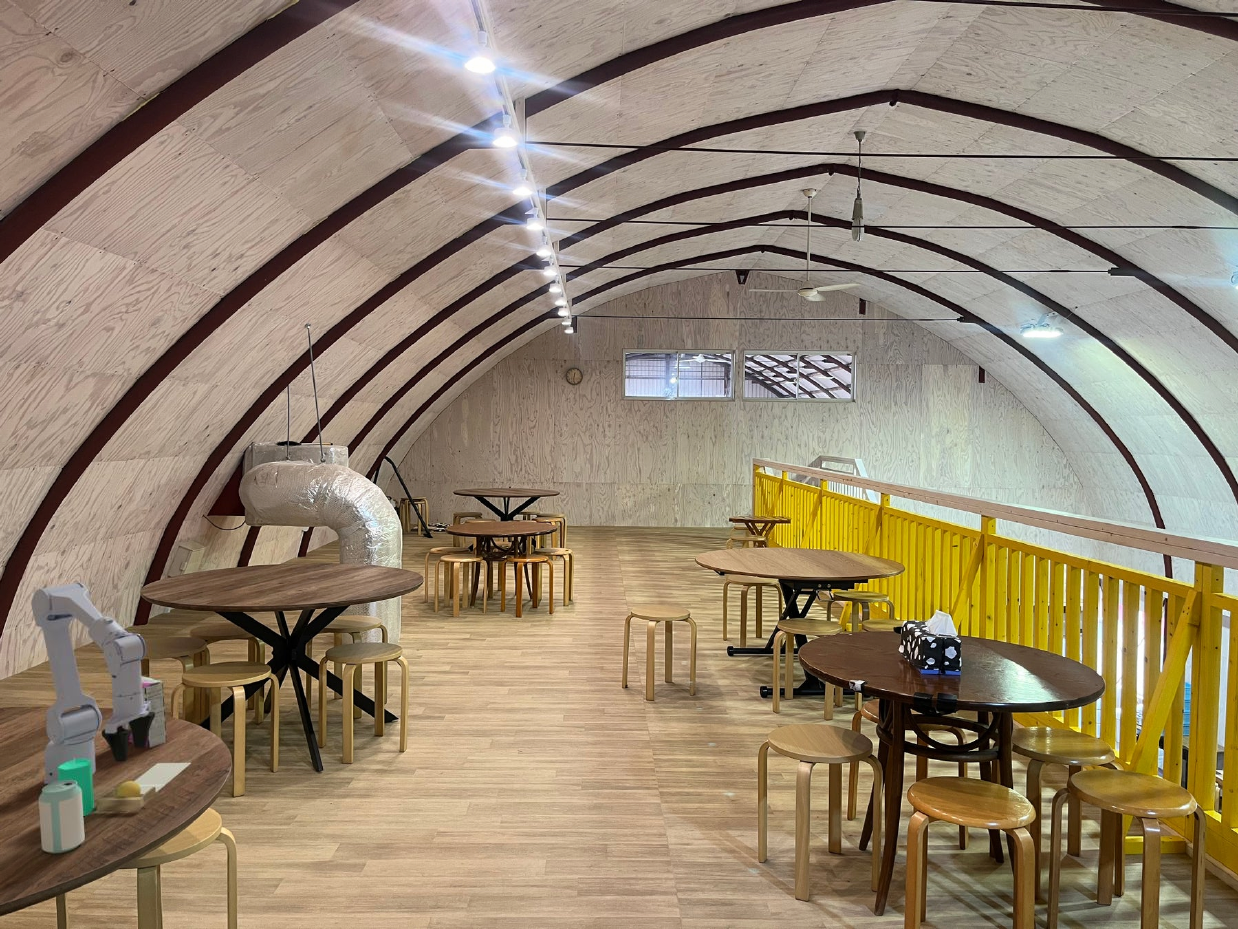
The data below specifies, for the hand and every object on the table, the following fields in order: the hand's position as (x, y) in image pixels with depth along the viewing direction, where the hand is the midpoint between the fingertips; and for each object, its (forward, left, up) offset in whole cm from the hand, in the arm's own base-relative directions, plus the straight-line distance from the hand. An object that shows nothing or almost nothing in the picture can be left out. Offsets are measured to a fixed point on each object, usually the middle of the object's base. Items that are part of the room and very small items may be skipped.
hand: (130, 754), depth 200 cm
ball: (+1, -4, -9) cm, 10 cm away
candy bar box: (-13, +30, -10) cm, 35 cm away
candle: (-7, -8, -10) cm, 14 cm away
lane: (+1, +4, -9) cm, 10 cm away
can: (-1, -23, -10) cm, 24 cm away
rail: (+1, -5, -9) cm, 10 cm away
